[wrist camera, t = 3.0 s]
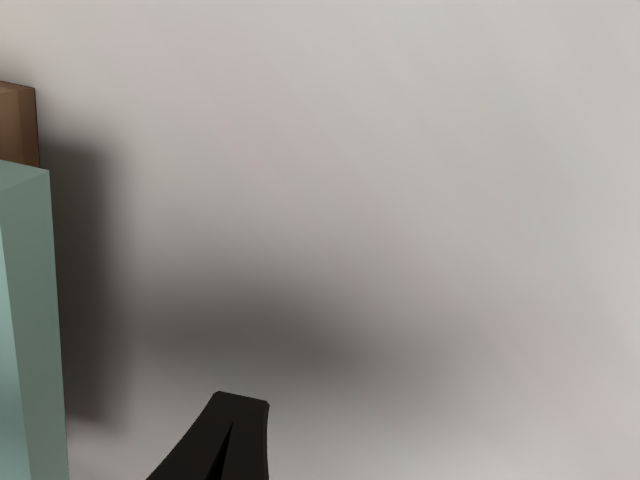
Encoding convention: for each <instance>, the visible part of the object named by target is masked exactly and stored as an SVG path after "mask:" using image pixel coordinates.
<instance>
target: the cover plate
mask: <svg viewBox="0 0 640 480" xmlns="http://www.w3.org/2000/svg"><path fill="white" fill-rule="evenodd" d="M0 480H69V470H68V454H67V439H66V423H65V408H64V392H63V377H62V361H61V346H60V330H59V315H58V299H57V284H56V268H55V253H54V237H53V222H52V206H51V191H50V175H49V170H46V169H41V168H36V167H32V166H27V165H23V164H18V163H14V162H9V161H4V160H0Z"/></svg>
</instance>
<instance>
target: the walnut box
mask: <svg viewBox="0 0 640 480" xmlns="http://www.w3.org/2000/svg"><path fill="white" fill-rule="evenodd" d="M0 160H4V161H9V162H14V163H18V164H23V165H27V166H32V167H36V168H40V164H39V150H38V137H37V123H36V110H35V96H34V88H31V87H26V86H22V85H17V84H13V83H8V82H4V81H0Z"/></svg>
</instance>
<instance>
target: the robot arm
mask: <svg viewBox="0 0 640 480" xmlns="http://www.w3.org/2000/svg"><path fill="white" fill-rule="evenodd" d="M269 406H270V405H269V404H268V402H267V401H264V400H260V399H255V398H250V397H245V396H241V395H236V394H231V393H226V392H222V391H218V392H216V393H214V394H213V396H212V397H211V399H210V401H209V402H208V404H207V405H206V407H205V408H204V410H203V411H202V412H201V414H200V415H199V417H198V418H197V419H196V421H195V422H194V423H193V425H192V426H191V427H190V429H189V430H188V431H187V432H186V434H185V435H184V436H183V437H182V439H181V440H180V441H179V442H178V443H177V445H176V446H175V447H174V448H173V449H172V451H171V452H170V453H169V454H168V455H167V457H166V458H165V459H164V460H163V461H162V462H161V464H160V465H159V466H158V467H157V468H156V469H155V470H154V471H153V472H152V473H151V475H150V476H149V477H148V478H147V479H146V480H269V473H268V461H267V420H268V412H269Z"/></svg>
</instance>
